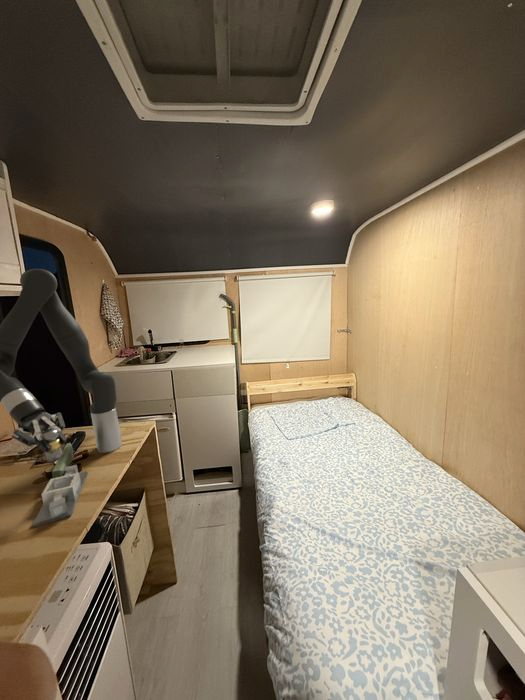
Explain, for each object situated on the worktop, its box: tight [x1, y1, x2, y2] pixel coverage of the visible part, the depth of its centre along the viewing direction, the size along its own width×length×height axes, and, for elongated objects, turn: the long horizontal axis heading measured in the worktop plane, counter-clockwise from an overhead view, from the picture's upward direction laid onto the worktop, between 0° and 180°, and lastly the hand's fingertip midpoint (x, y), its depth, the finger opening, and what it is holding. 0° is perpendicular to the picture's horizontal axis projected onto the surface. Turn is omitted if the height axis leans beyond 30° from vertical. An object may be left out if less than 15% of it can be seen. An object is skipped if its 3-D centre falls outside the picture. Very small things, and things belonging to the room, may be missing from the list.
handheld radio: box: [51, 442, 75, 479], centre depth 106 cm, size 7×3×25 cm
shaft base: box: [32, 464, 89, 528], centre depth 89 cm, size 22×9×5 cm, turn 21°
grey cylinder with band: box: [41, 428, 63, 463], centre depth 86 cm, size 4×4×9 cm
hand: (57, 446), depth 86 cm, fingers closed on grey cylinder with band, 4 cm apart
